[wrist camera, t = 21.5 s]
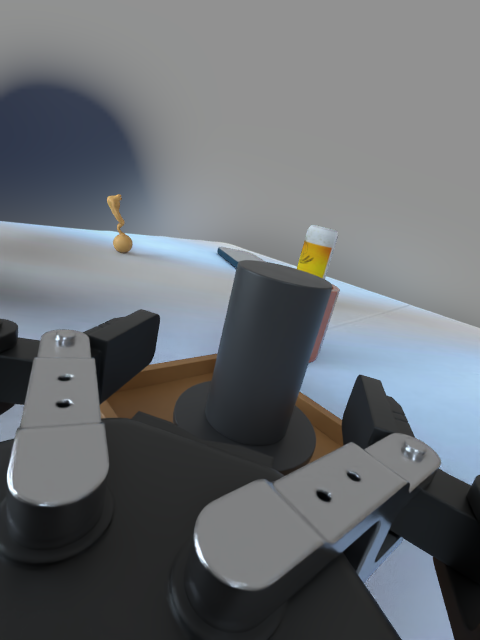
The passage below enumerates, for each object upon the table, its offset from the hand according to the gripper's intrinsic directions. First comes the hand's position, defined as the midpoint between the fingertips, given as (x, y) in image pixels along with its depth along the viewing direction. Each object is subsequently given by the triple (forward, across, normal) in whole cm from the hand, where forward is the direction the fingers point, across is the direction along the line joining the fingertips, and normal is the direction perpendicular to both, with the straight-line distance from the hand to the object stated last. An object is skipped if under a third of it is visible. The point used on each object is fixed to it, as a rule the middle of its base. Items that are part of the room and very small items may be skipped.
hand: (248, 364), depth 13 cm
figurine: (+57, +40, +10) cm, 70 cm away
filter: (+8, 0, +10) cm, 12 cm away
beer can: (+61, -2, +10) cm, 62 cm away
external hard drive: (+85, +16, +10) cm, 87 cm away
